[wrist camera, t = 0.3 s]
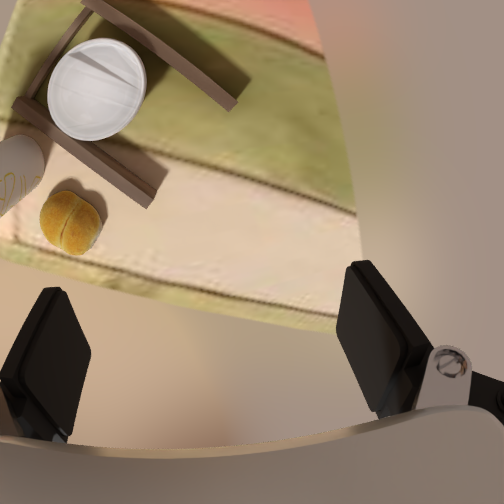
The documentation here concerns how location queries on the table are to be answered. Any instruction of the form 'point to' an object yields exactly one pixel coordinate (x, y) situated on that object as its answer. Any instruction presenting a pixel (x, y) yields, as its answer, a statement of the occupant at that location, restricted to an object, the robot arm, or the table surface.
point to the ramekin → (96, 89)
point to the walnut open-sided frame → (87, 149)
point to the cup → (19, 170)
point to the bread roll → (70, 222)
